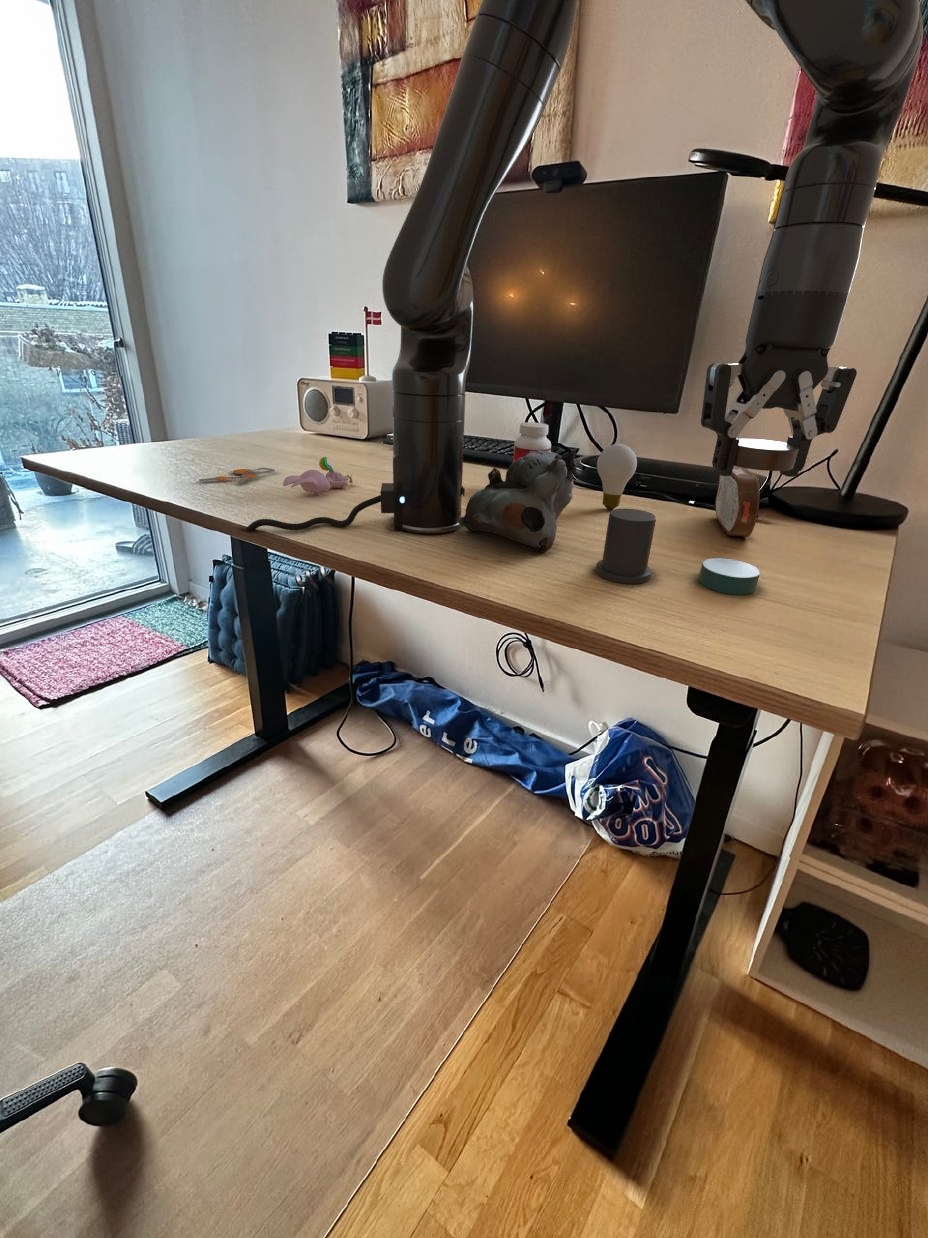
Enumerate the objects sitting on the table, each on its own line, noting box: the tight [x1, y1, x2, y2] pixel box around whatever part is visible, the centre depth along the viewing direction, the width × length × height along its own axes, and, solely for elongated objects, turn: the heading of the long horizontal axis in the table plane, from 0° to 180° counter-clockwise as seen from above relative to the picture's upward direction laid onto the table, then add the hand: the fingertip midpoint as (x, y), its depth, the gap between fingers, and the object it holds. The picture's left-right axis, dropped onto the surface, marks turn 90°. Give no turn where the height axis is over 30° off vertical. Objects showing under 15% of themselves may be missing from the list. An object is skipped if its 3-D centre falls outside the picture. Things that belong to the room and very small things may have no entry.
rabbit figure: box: [282, 456, 354, 496], centre depth 92 cm, size 6×6×15 cm
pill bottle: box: [512, 421, 552, 463], centre depth 98 cm, size 6×6×11 cm
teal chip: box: [698, 557, 761, 596], centre depth 65 cm, size 6×6×2 cm
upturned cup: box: [595, 508, 657, 585], centre depth 65 cm, size 6×6×7 cm
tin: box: [714, 466, 761, 538], centre depth 83 cm, size 15×3×8 cm, turn 168°
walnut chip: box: [734, 438, 799, 472], centre depth 59 cm, size 6×6×2 cm
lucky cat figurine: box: [458, 450, 576, 553], centre depth 74 cm, size 15×12×14 cm
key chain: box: [198, 467, 276, 484], centre depth 101 cm, size 13×7×1 cm, turn 156°
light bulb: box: [596, 443, 638, 511], centre depth 89 cm, size 6×6×10 cm
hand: (755, 474), depth 60 cm, fingers closed on walnut chip, 6 cm apart
